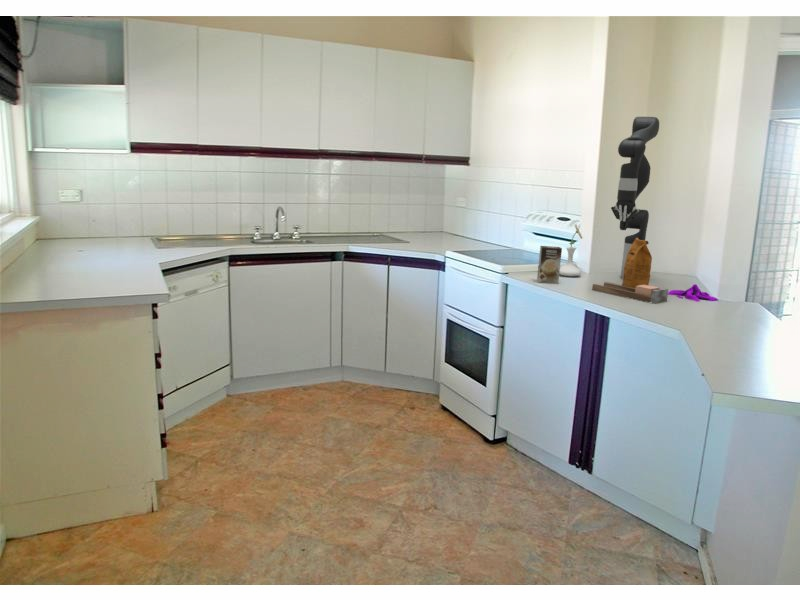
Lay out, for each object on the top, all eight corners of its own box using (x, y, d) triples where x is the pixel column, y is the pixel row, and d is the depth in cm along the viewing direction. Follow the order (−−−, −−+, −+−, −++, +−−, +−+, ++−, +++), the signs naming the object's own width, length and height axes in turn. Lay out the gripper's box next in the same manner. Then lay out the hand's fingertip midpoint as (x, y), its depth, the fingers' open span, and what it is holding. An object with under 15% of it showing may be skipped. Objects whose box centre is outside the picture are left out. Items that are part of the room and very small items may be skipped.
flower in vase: (576, 278, 306) (581, 226, 301) (553, 275, 312) (557, 223, 307) (584, 275, 317) (590, 224, 312) (562, 272, 323) (567, 222, 318)
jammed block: (642, 296, 271) (644, 284, 270) (657, 299, 265) (659, 287, 264) (634, 297, 267) (635, 285, 266) (649, 301, 262) (651, 289, 261)
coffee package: (640, 285, 296) (646, 237, 292) (650, 290, 284) (657, 241, 279) (619, 284, 296) (624, 236, 292) (628, 290, 284) (634, 240, 279)
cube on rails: (605, 287, 287) (606, 276, 286) (666, 301, 264) (668, 289, 263) (592, 289, 281) (593, 278, 280) (653, 303, 259) (655, 291, 257)
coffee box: (538, 282, 294) (541, 247, 290) (536, 279, 300) (539, 245, 296) (558, 283, 293) (562, 248, 289) (556, 281, 299) (560, 246, 296)
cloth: (660, 292, 285) (662, 278, 283) (702, 293, 285) (704, 280, 284) (682, 303, 263) (684, 289, 262) (728, 305, 263) (730, 290, 262)
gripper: (646, 190, 270) (641, 231, 274) (619, 187, 280) (614, 227, 284) (636, 190, 265) (631, 232, 269) (608, 188, 275) (604, 228, 279)
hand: (623, 229), depth 277 cm, fingers closed
